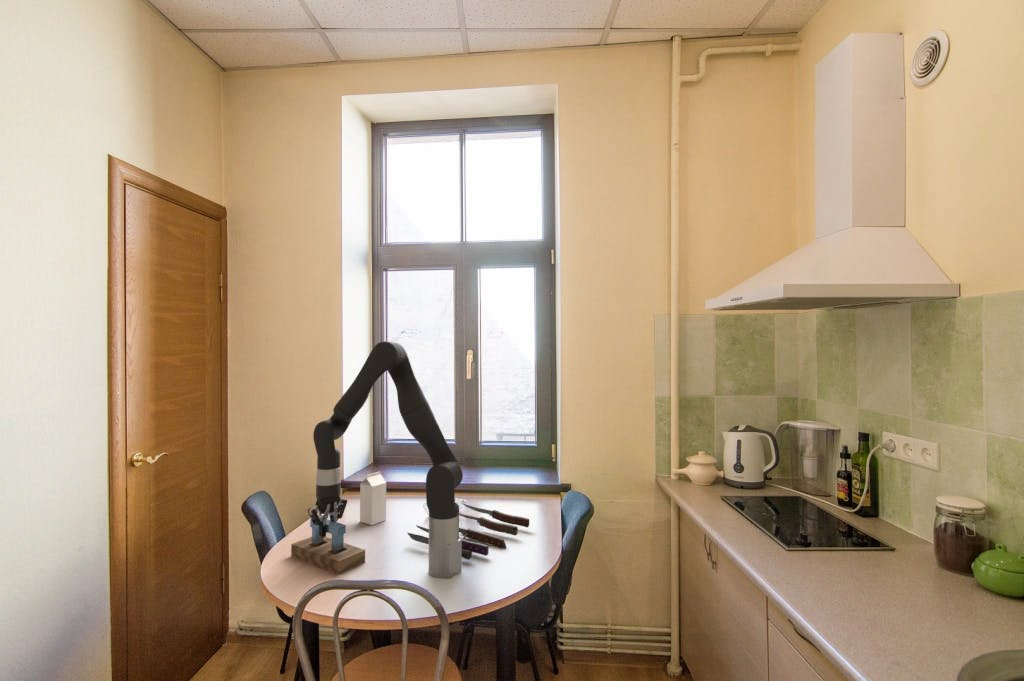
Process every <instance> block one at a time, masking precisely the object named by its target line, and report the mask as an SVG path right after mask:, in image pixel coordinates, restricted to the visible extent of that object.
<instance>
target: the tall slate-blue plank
mask: <svg viewBox="0 0 1024 681" xmlns="http://www.w3.org/2000/svg"><path fill="white" fill-rule="evenodd" d="M309 522H310V525H309V526H310V528H311V537H312V543H314V544H318V543H320V542H323V541H324V538H323V537H320V535H319V526H318V525H315V524H313V522H312V520H311V518H310V521H309ZM346 531H347V525H346V524H344V523H341V522H338V521H337V522H334V521H331V520H330V519H328V518H327V520H326V534H327V533H328V534H331V539H332V547H331V550H333V551H338V550H340V549H342V548H343V547H344V543H345V542H344V538H345V536H344V535H345V534H346V533H347V532H346Z"/></svg>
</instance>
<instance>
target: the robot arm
mask: <svg viewBox="0 0 1024 681" xmlns="http://www.w3.org/2000/svg"><path fill="white" fill-rule="evenodd" d="M386 371H387V372H388V374H389V376H390V377H391V379H392V381H393V383H394V386H395V389H396V394H397V404H398V409H399V413H400V417H401V418H402V420H403V423H404V425H405V427H406V429H407V430H408V432H409V434H410V435H411V436H412V438H414V439H415V440H416V441H417V442H418V443H419V444H420V446H422V447H423V448H424V450H425V452H426V453H427V454H428V456H429V458H430V461H431V463H432V466H431V467H430V468H429V470H428V471H427V473H426V479H425V498H426V507H427V510H428V529H429V533H428V538H429V545H428V574H429V575H430V576H432V577H434V578H439V579H440V578H442V579H443V578H445V579H446V578H447V579H450V578H452V577H454V576H456V575H457V574H459V573H460V572H462V558H463V557H462V540H461V539H459V537H460V532H459V528H460V515H459V513H460V505H459V504H458V502H456V500H455V499H456V498H455V496H456V495H455V489H456V488H457V487H459V486H460V484H461V483H462V482H463V477H464V475H463V473H464V472H463V469H462V466H461V465H460V463H459V461H458V459H457V458H456V457H455V455H454V453H453V451H452V449H451V448H450V446H449V445H448V442H447V441H446V438H445V436H444V434H443V432H442V430H441V428H440V426H439V424H438V422H437V420H436V417H435V415H434V413H433V410H432V408H431V406H430V404H429V402H428V400H427V397H426V396H425V394H424V392H423V390H422V388H421V386H420V384H419V382H418V380H417V377H416V376H415V372H414V371H413V367H412V365H411V361H410V359H409V356H408V353H407V351H406V349H405V347H404V346H402V345H401V344H400V343H398V342H394V341H388V340H387V341H386V340H385V341H380V342H378V343H376V344H375V345H374V347H373V348H372V349H371V351H370V353H369V354H368V356H367V358H366V360H365V362H364V364H363V365H362V367H361V369H360V370H359V372H358V374H357V376H356V377H355V379H354V380H353V382H352V383H351V385H350V386H349V387H348V389H346V391H345V393H343V395H342V396H341V398H340V399H338V401H337V403H336V404H335V405H334V407H333V413H332V415H331V416H330V417H329V419H326V420H322V421H320V422H318V423H317V424H316V425H315V427H314V429H313V437H312V438H313V442H314V447H315V451H316V455H317V459H316V462H317V463H316V465H317V466H316V475H315V478H316V479H315V483H316V484H315V498H316V502H315V505H314V506H313V507H312V508H310V507H309V508H308V509H307V512H308V515H309V518H310V519H311V520H312V522H313V524H315V525H318V526H319V535H320V537H323V538H324V537H327V532H326V520H327V519H328V518H329V520H331V521H334V522H337V523H338V520H340V519H342V518H343V516H344V512H345V510H346V506H347V504H348V500H347V499H346V498H345V499H344V498H341V495H342V494H341V493H342V492H341V490H342V488H341V487H342V486H341V485H342V484H341V483H342V482H341V481H342V472H341V452H340V449H338V448H336V446H335V441H336V440H338V439H340V438H341V437H342V436H343V435H344V434H346V431H347V430H348V428H349V426H350V424H351V423H352V420H353V418H355V416H356V415H357V414H359V413H358V412H359V411H360V410H361V409H362V408H363V406H364V405H365V404H366V402H367V400H368V398H369V395H370V393H371V390H372V388H373V386H375V383H376V382H377V381H378V380H379V378H380V377H381V376H382V375H383V374H385V373H386Z"/></svg>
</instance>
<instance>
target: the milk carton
mask: <svg viewBox="0 0 1024 681" xmlns="http://www.w3.org/2000/svg"><path fill="white" fill-rule="evenodd" d="M359 485H360V486H359V488H360V489H359V490H360V491H359V522H360V523H363V524H365V525H369V526H374V525H377V524H379V523H382V522H384V521H386V520H387V481H386V480H385V478H384V477H383V476H382V474H381V470H380V471H377V472H372V473H368V474H365V478H364V479H363V480H362V481H361V483H360V484H359Z"/></svg>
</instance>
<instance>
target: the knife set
mask: <svg viewBox="0 0 1024 681" xmlns="http://www.w3.org/2000/svg"><path fill="white" fill-rule="evenodd" d="M460 504H462V505H463V506H464V507H466V508H467V509H470V510H472V511H475V512H477V513H482V514H486V515H489V517H492V519H495V520H497V521H494V520H491V519H489V518H485V517H483V516H480V517H478V516H473V515H470V514H464V513H461V512H459V517H463V518H466V519H469V520H474V521H476V523H477V524H478V525H479V526H480V527H483V528H486V529H488V530H490V531H493V532H494V531H495V532H497V533H504V534H508V535H512V536H517V535H518V532H519V530H518V528H519V527H524V528H529V527H530V518H527V517H523V516H519V515H512V514H508V513H504V512H500V511H499V510H496V509H493V510H492V509H491V510H490V509H486V508H481V507H478V506H473V505H470V504H467V503H464V502H462V501H460ZM498 521H499V522H498ZM502 522H503V523H502ZM415 526H416V527H417V528H418V529H419V530H421V531H423V532H425V533H427V534H429V528H427V527H424V526H420V525H415ZM518 526H519V527H518ZM459 533H460V534H461V535H462V536H463V537H460V536H459V539H461V540H462V558H463V559H465V560H470V559H471V558H472V555H473V553H475V554H479V555H482V556H485V557H486V556H488V555H489V546H488V545H491V546H494V547H496V546H497V548H501V549H503V548H504V549H506V548H507V544H506V542H505V539H504V538H501V537H499V536H496V535H492V534H489V533H485V532H481V531H479V530H475V529H471V528H467V529H466V528H463V527H459ZM407 534H408V536H409V537H410V539H411V540H413V541H415V542H418V543H422V544H425V545H428V546H429V537H427V536H425V535H419V534H415V533H411V532H407ZM466 538H468V539H470V540H473V541H470V540H466ZM475 541H477V542H475ZM480 542H481V543H480ZM483 543H484V544H483ZM486 544H487V545H486Z"/></svg>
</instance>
